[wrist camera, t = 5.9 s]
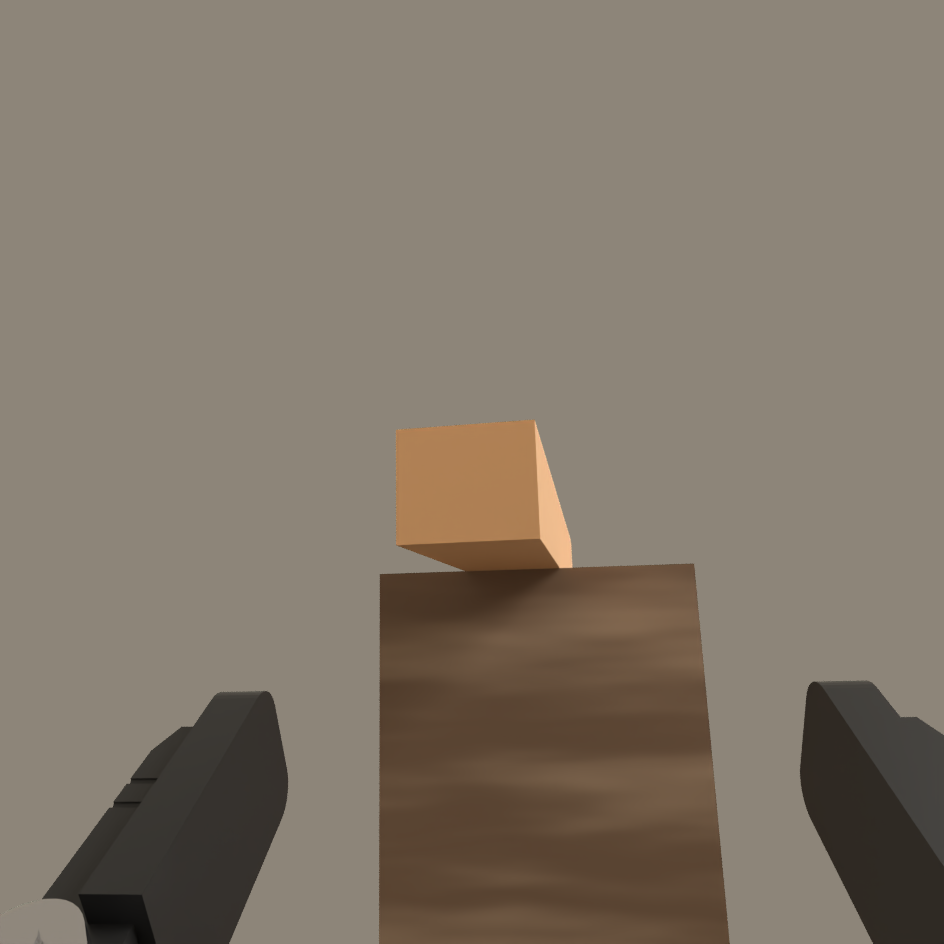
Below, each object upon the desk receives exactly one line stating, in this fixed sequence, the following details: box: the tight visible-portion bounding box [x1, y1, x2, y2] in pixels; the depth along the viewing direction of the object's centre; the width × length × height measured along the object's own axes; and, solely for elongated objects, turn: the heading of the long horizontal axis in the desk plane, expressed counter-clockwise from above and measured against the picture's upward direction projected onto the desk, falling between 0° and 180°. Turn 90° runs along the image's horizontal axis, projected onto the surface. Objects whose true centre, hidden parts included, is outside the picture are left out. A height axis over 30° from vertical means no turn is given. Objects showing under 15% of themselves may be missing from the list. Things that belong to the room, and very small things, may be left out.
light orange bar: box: [396, 420, 572, 571], centre depth 31 cm, size 28×4×3 cm, turn 170°
